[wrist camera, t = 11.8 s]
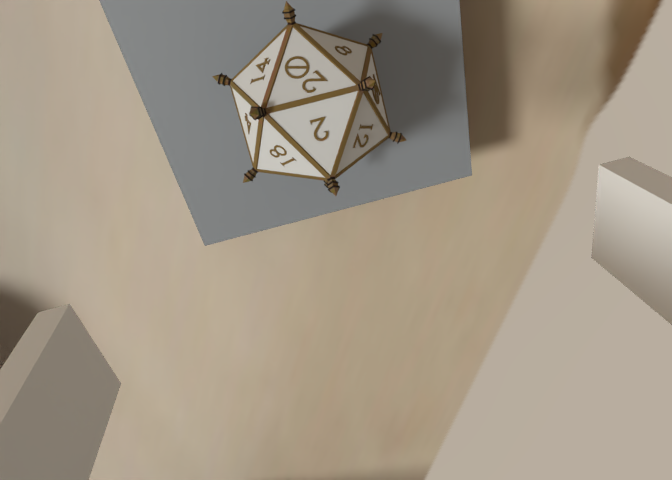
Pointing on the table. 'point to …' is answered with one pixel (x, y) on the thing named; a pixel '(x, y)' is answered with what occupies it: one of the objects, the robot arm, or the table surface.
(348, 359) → the table surface
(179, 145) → the plinth
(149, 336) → the table surface
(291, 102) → the game die
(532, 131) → the table surface
